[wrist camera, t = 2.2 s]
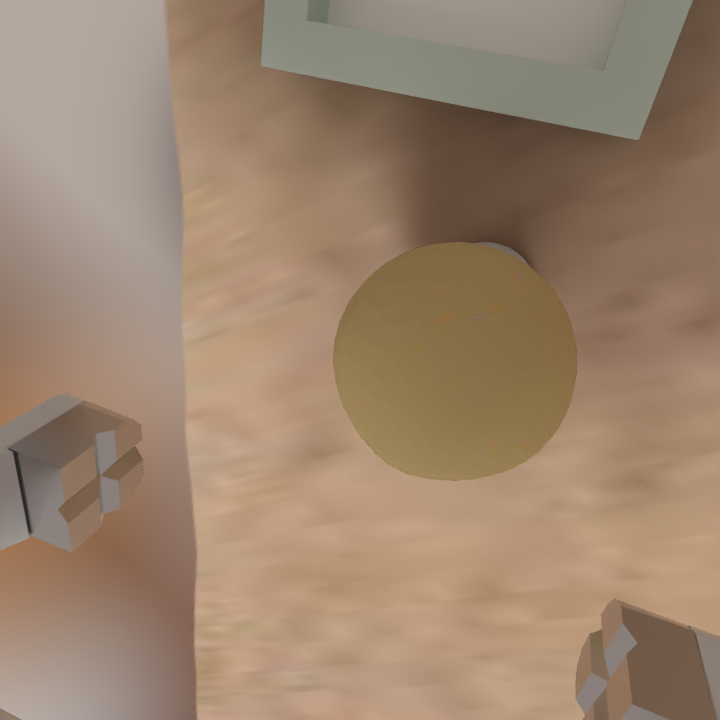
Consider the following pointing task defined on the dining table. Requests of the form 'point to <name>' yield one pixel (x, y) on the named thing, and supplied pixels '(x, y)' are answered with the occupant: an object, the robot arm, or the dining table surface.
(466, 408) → the light bulb
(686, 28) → the dining table surface
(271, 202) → the dining table surface
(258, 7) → the dining table surface
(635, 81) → the tray
